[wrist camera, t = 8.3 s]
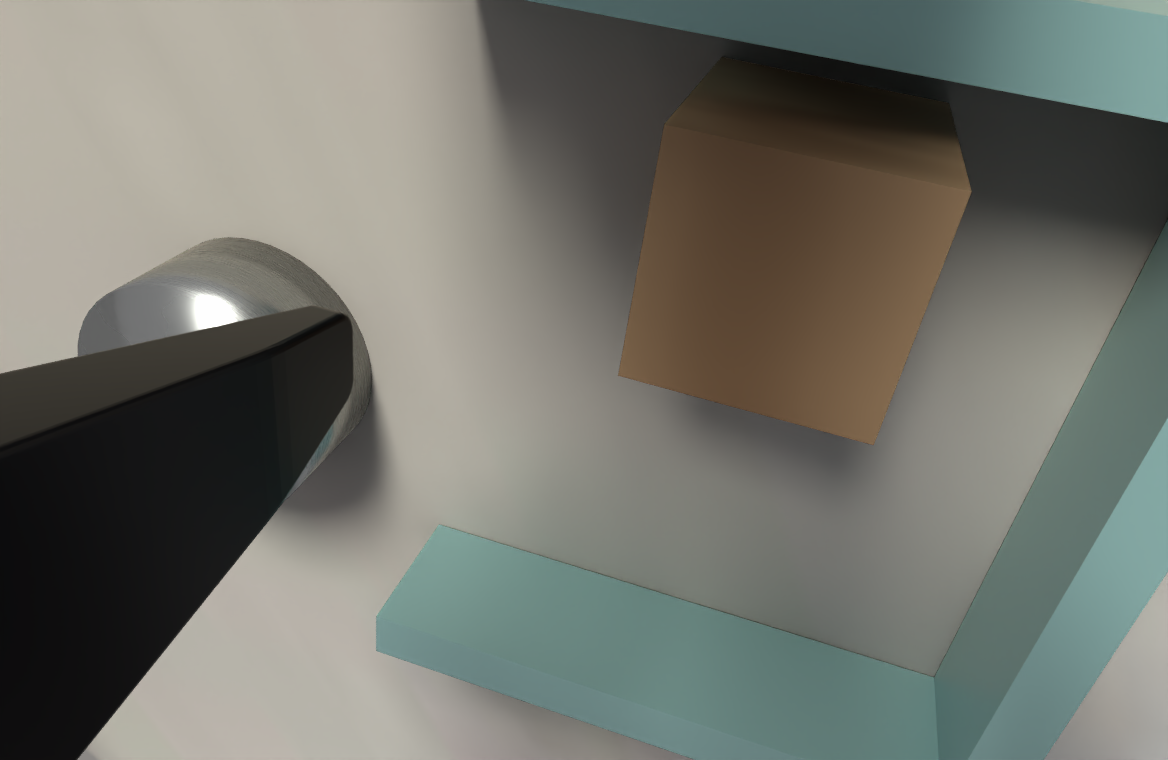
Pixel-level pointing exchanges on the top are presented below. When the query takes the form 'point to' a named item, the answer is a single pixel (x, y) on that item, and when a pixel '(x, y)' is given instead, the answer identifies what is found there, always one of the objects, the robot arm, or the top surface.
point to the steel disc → (224, 310)
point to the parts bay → (1023, 563)
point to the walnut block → (793, 245)
